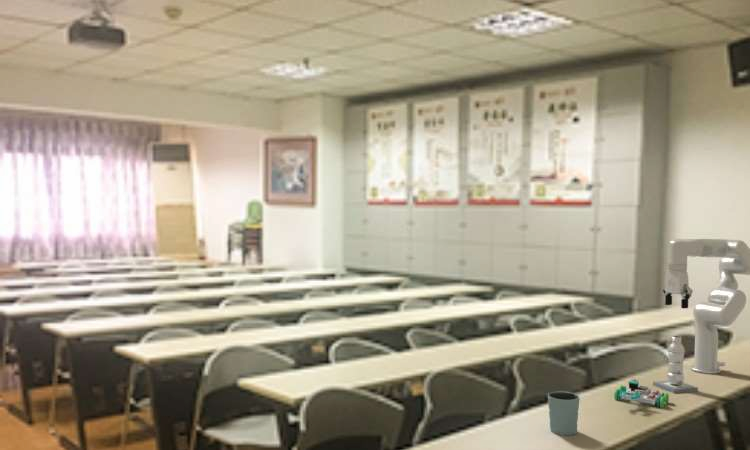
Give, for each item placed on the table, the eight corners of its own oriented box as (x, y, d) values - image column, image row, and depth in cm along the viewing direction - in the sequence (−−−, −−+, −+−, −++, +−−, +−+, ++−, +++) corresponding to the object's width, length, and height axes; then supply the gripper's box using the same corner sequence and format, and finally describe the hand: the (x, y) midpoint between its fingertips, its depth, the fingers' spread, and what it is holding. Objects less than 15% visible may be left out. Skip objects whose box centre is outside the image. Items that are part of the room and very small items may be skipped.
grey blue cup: (585, 433, 216) (586, 396, 216) (564, 438, 210) (565, 401, 210) (561, 424, 224) (561, 389, 224) (540, 429, 219) (541, 393, 219)
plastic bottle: (680, 382, 276) (681, 335, 275) (686, 387, 269) (687, 338, 268) (664, 382, 276) (665, 334, 276) (670, 386, 269) (671, 338, 269)
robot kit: (603, 408, 245) (604, 383, 244) (621, 393, 265) (622, 370, 265) (656, 418, 234) (657, 392, 234) (671, 401, 254) (672, 377, 254)
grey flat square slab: (676, 383, 280) (676, 380, 280) (697, 391, 268) (697, 387, 268) (653, 385, 276) (653, 381, 276) (673, 393, 265) (673, 389, 265)
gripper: (656, 266, 298) (655, 303, 298) (685, 270, 281) (684, 309, 282) (670, 266, 300) (669, 303, 300) (699, 269, 283) (698, 309, 284)
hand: (676, 306), depth 291 cm, fingers open, 9 cm apart
